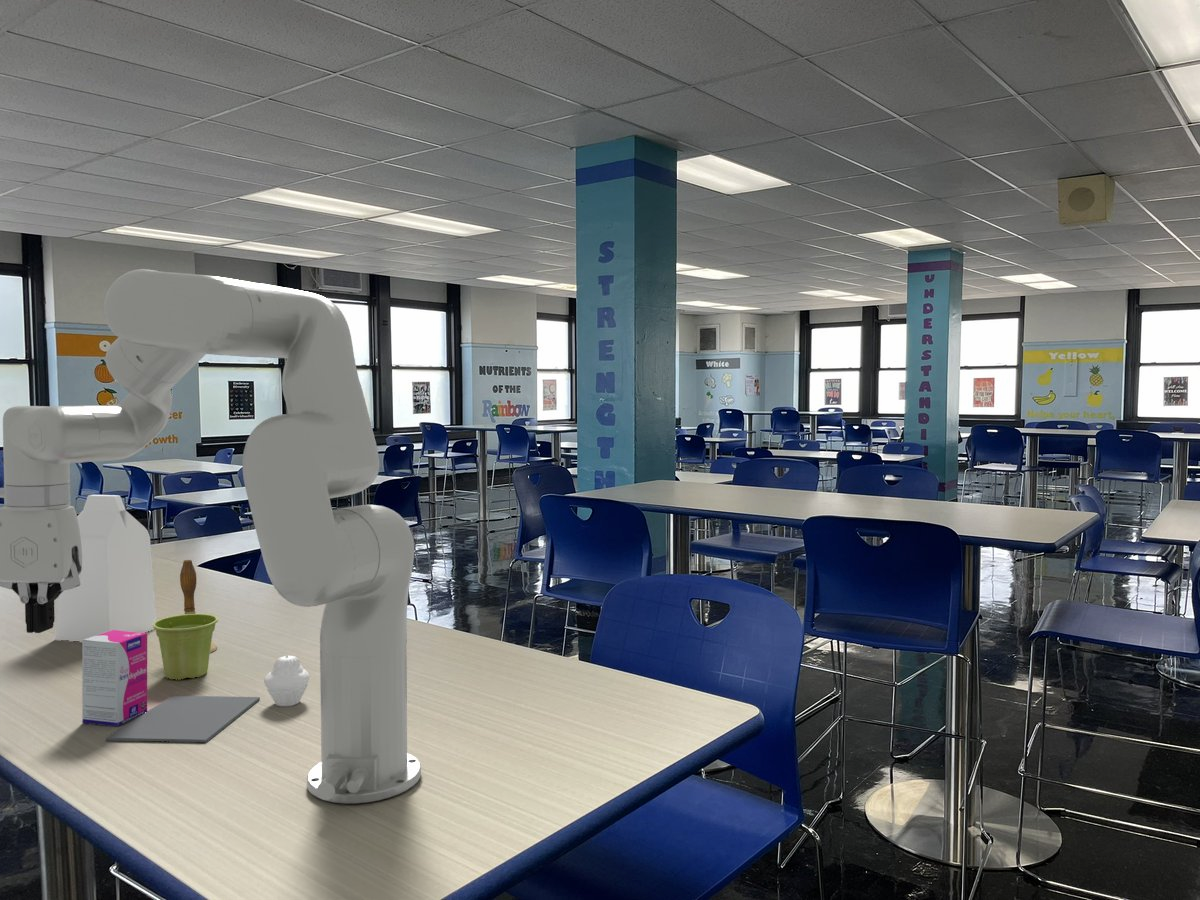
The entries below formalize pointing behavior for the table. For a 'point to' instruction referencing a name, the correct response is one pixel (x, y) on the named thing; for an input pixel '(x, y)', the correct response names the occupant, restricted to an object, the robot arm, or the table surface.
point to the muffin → (287, 681)
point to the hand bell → (190, 590)
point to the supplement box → (114, 677)
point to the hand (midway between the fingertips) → (40, 630)
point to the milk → (109, 575)
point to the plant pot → (185, 644)
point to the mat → (185, 719)
